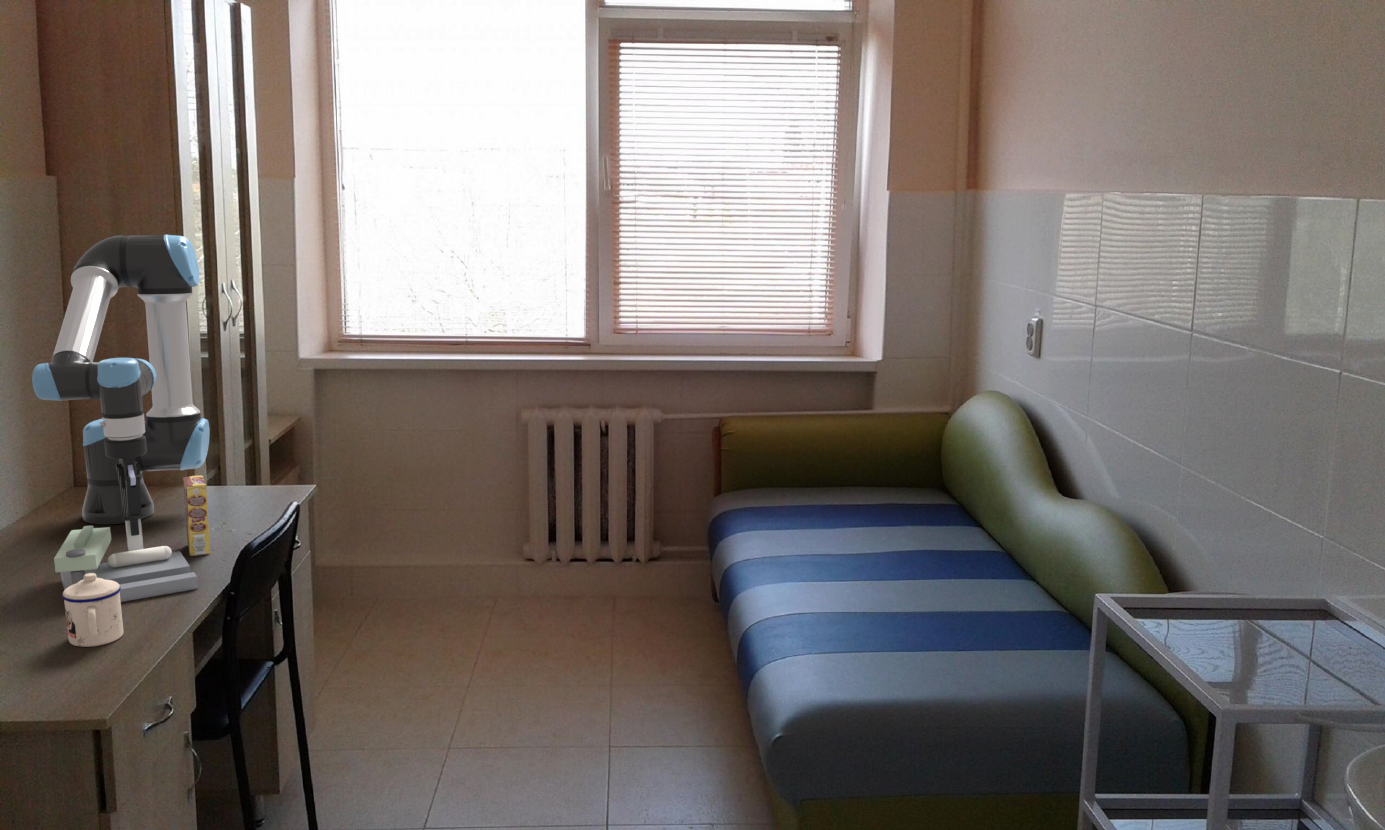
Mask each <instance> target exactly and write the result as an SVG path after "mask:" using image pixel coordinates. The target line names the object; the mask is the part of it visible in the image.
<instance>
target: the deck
mask: <svg viewBox="0 0 1385 830" xmlns="http://www.w3.org/2000/svg"><path fill="white" fill-rule="evenodd" d="M88 573H95V574H96V575H97V578H102V579H105V580H112V581H115V582H117V583H118V584H119V585H120V587H121V590H120V601H121V603H122V602H123V603H124V602H128V601H134V600H135V601H136V600H140V599H146V598H151V597H157V596H163V595H168V594H174V593H175V594H176V593H180V592H186V591H192V590H197V589H199V585H198V576H197V574H196V573H195V572H194V571H191V565H190V564H189V562H188V561H187V560H186V558H185V557H184V556H183V554H182V552H181V550H179V551H172V555H171V556H170V558H168V559H166V560H160V561H154V562H148V563H141V564H135V565H129V566H123V567H117V568H114V567H111V566H110V565H109V564H108V562H103V563H101V562H100V564H99V566H98V568H97V569H91V570H79V571H68V572H60V580H61V584H62V587H63V590H65V589H66V588H68V587H69V586H71V585H74V584H76V583H78V582H79V581H81V580H83V579H84V575H85V574H88Z"/></svg>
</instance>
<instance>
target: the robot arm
mask: <svg viewBox="0 0 1385 830" xmlns="http://www.w3.org/2000/svg"><path fill="white" fill-rule="evenodd" d="M199 267H200V266H199V262H198V257H197V254H196V251H195V249H194V246H193V244H192V243H191V241H190V239H188V238H187V237H186V236H183V235H172V234H161V235H160V234H159V235H158V234H157V235H155V234H153V235H152V234H151V235H150V234H149V235H148V234H147V235H142V234H141V235H123V234H122V235H113V236H109V237H107V238H104V239H102V240H100V241H99V242H97V243H96V244H94V245H92V246H91V247H90V248H88V250H86V251H85V252H84V254H82V256H81V257H80V258H79V259H78V261H77V262H76V264H75V265H74V267H73V270H72V274H71V277H70V284H71V287H72V291H71V295H70V297H69V301H68V304H67V308H66V310H65V314H64V318H63V319H62V320H63V321H62V325H61V327H60V331H59V334H58V338H57V341H56V345H55V347H54V351H53V353H52V354H53V355H52V357H51V361H50V362H43V363H39V364H37V365H35V366H34V369H33V371H32V375H31V377H32V378H31V381H32V382H31V383H32V389H33V391H34V393H35V396H36V397H37V398H38V399H39V400H42V401H43V400H44V401H59V402H62V401H72V400H73V401H74V400H76V401H77V400H100V408H101V409H100V410H101V418H100V419H97V420H96V419H95V420H93V421H90V422H88V424H86V425H85V426H84V427H83V429H82V434H83V435H82V438H83V439H82V442H83V443H82V446H83V453H84V461H85V462H84V463H85V469H86V471H85V472H86V479H87V480H86V481H87V490H86V493H85V497H84V501H83V506H82V511H81V515H82V521H84V522H85V523H88V524H92V525H117V524H125V532H126V534H125V535H126V544H127V545H126V546H127V551H134V550H140V549H144V542H143V541H144V539H143V528H142V521H141V520H144V519H146V518H149V517H150V516H152V515H153V514H155V505H154V501H153V499H152V497H151V494H150V492H149V490H148V489H147V485H146V484H145V482H144V477H143V476H144V475H143V472H153V471H154V472H155V471H174V470H175V471H179V470H180V471H184V470H194V469H195V470H196V469H200V468H201V467H202V466H203V464H204V463H205V461H206V459H207V455H208V451H209V445H210V434H211V433H210V430H211V429H210V423H209V422H210V421H209V420H208V419H206V418H204V417H202V416H201V410H200V409H199V408H198V407H197V406H195V405H194V403H193V387H192V374H191V360H190V359H191V358H190V345H189V344H190V343H189V330H188V329H189V327H188V313H187V302H188V299H189V298H191V296H192V295H193V288H195V287H198V285H199V283H200V268H199ZM120 288H136V293H137V294H136V295H137V297H139V298H140V299H141V300H142V301H143V303H144V305H145V306H144V307H145V317H146V331H147V332H146V334H147V344H148V345H147V346H148V356H149V357H148V358H149V359H148V360H149V361H147V360H146V359H143V358H132V357H113V358H106V359H103V360H100V361H98V362H97V361H95V362H94V358H95V355H96V352H97V347H98V343H99V341H100V338H101V333H102V330H103V326H104V322H105V319H106V315H107V312H108V308H109V304H110V301H111V299H112V298H113V297H115V295H116V294H117V293H118V290H119V289H120ZM150 392H151V399H152V401H151V403H152V407H151V408H150V409H149V410H148V411H147V412H146V414H145V413H144V408H143V406H144V405H143V396H145V395H147V394H148V393H150ZM145 415H146V417H145ZM145 418H146V420H145Z"/></svg>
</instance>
